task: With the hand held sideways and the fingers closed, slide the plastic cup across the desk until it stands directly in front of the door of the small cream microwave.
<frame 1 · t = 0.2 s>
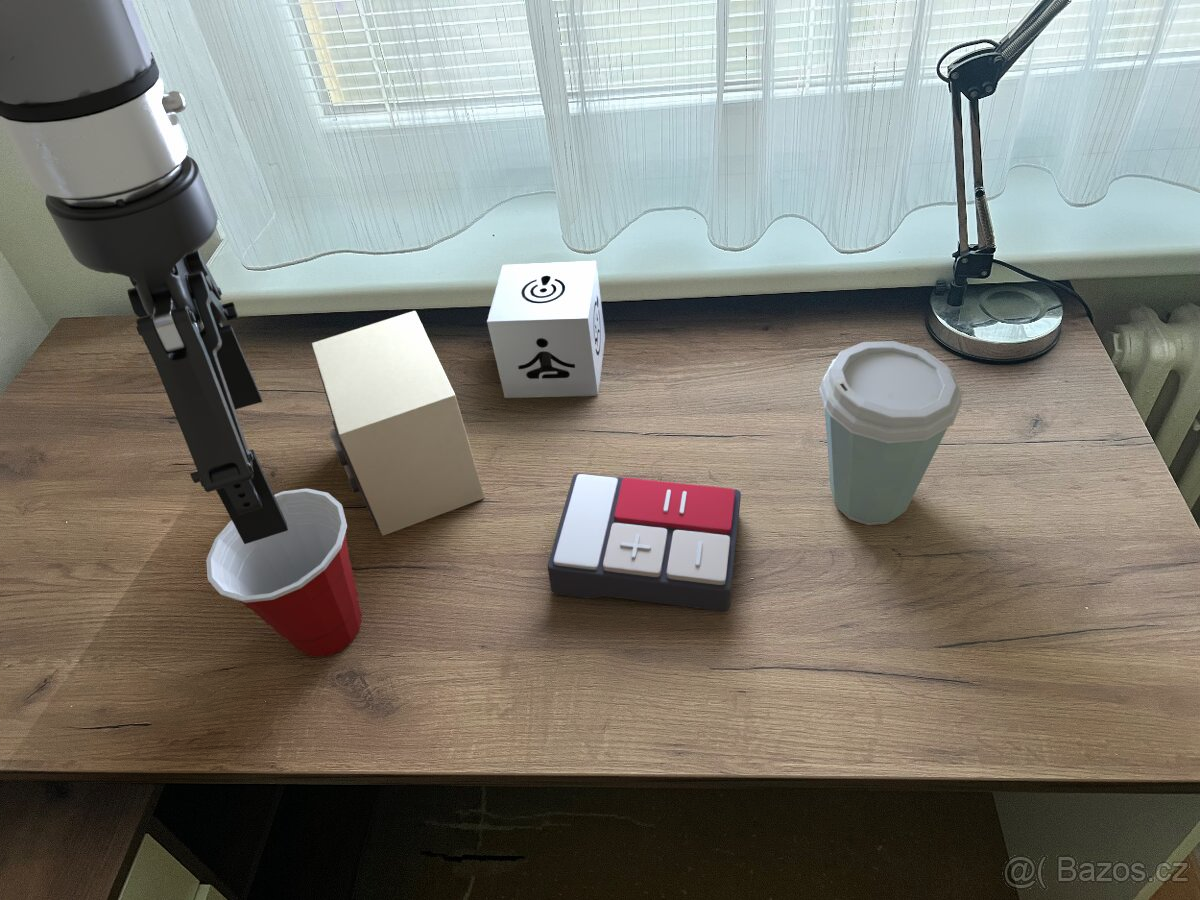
hand: (253, 464, 60), 20 cm above the table, tool pointing down, fingers open, 13 cm apart
disposable coffee cup: (870, 503, 78), on the table
icon cube: (556, 367, 96), on the table
plastic cup: (326, 629, 74), on the table
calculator: (648, 553, 76), on the table
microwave: (416, 469, 86), on the table
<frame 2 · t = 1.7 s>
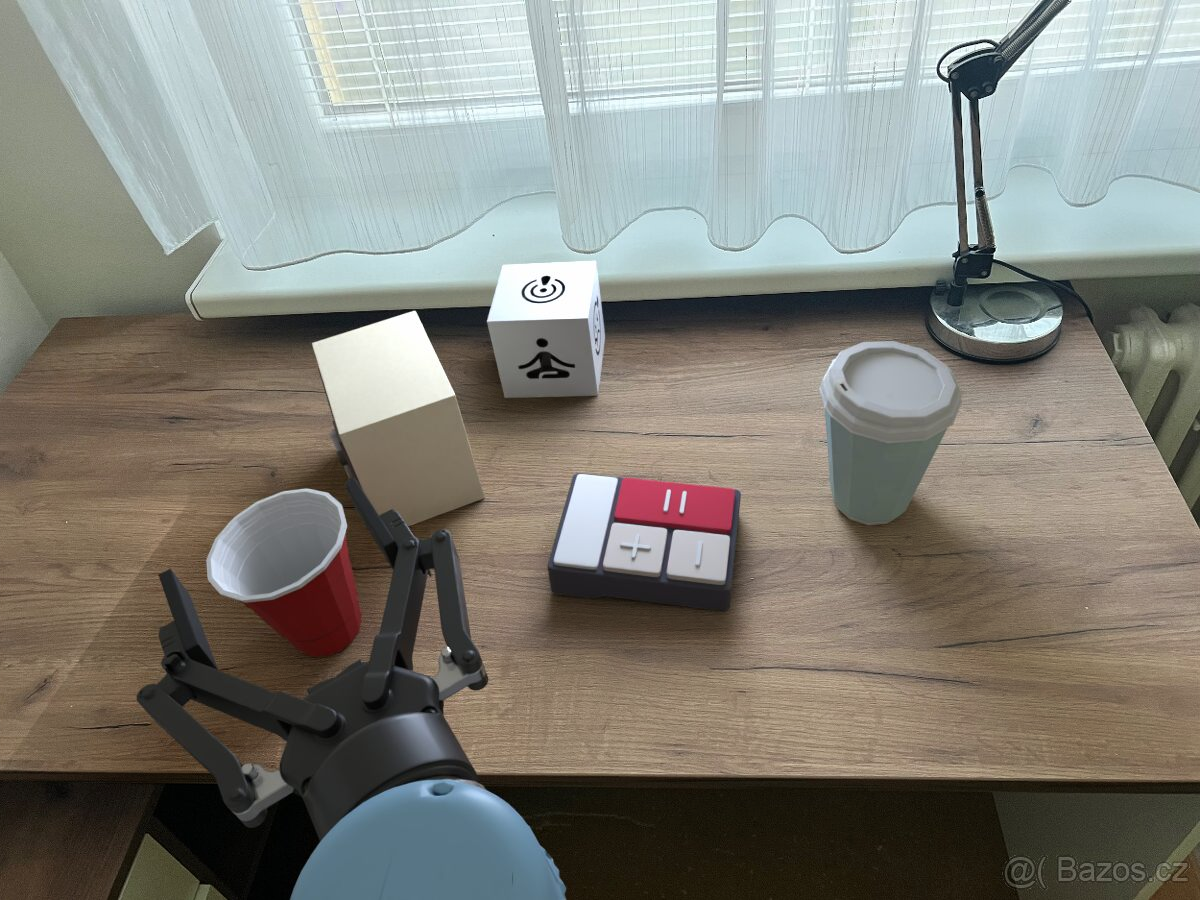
hand: (268, 538, 55), 20 cm above the table, tool horizontal, fingers open, 11 cm apart
nothing on the table moved.
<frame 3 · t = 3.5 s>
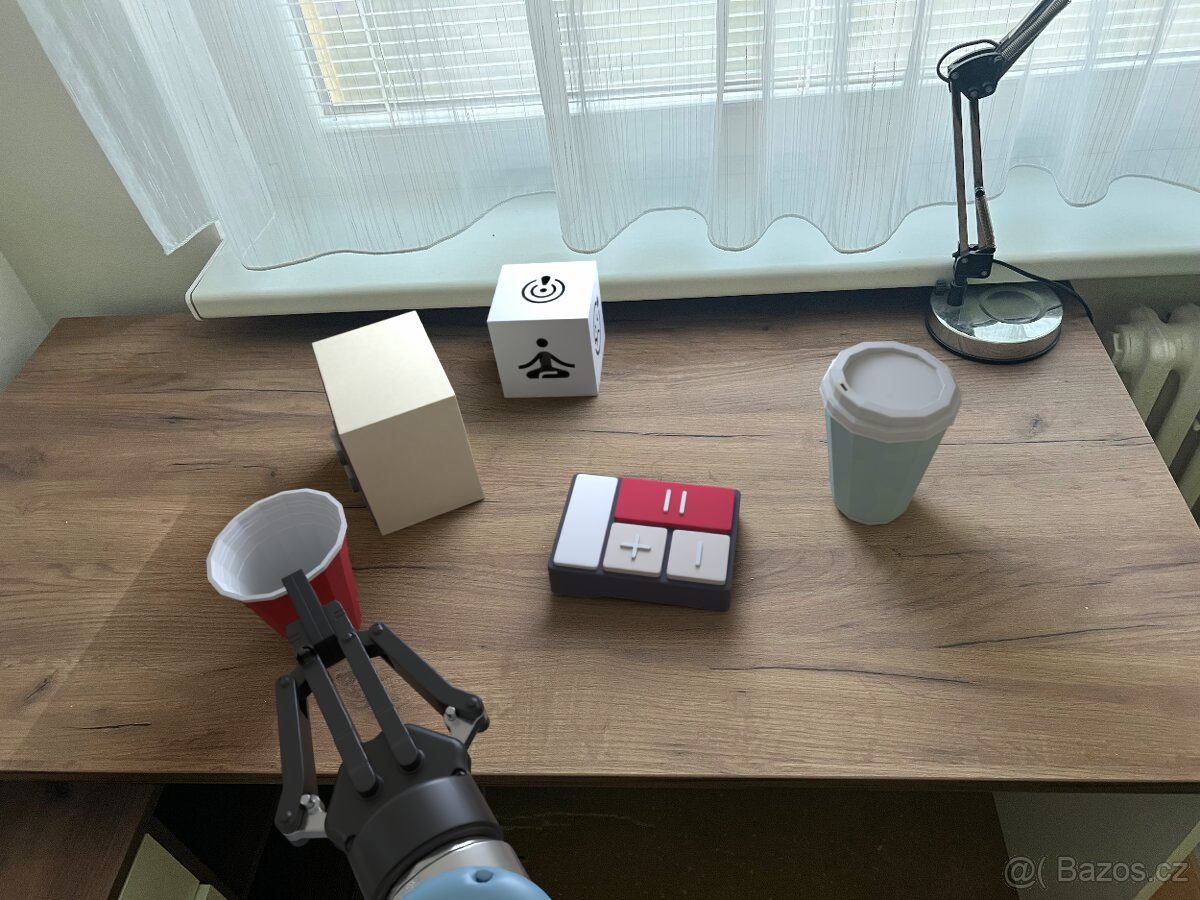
hand: (298, 585, 60), 13 cm above the table, tool horizontal, fingers closed
nothing on the table moved.
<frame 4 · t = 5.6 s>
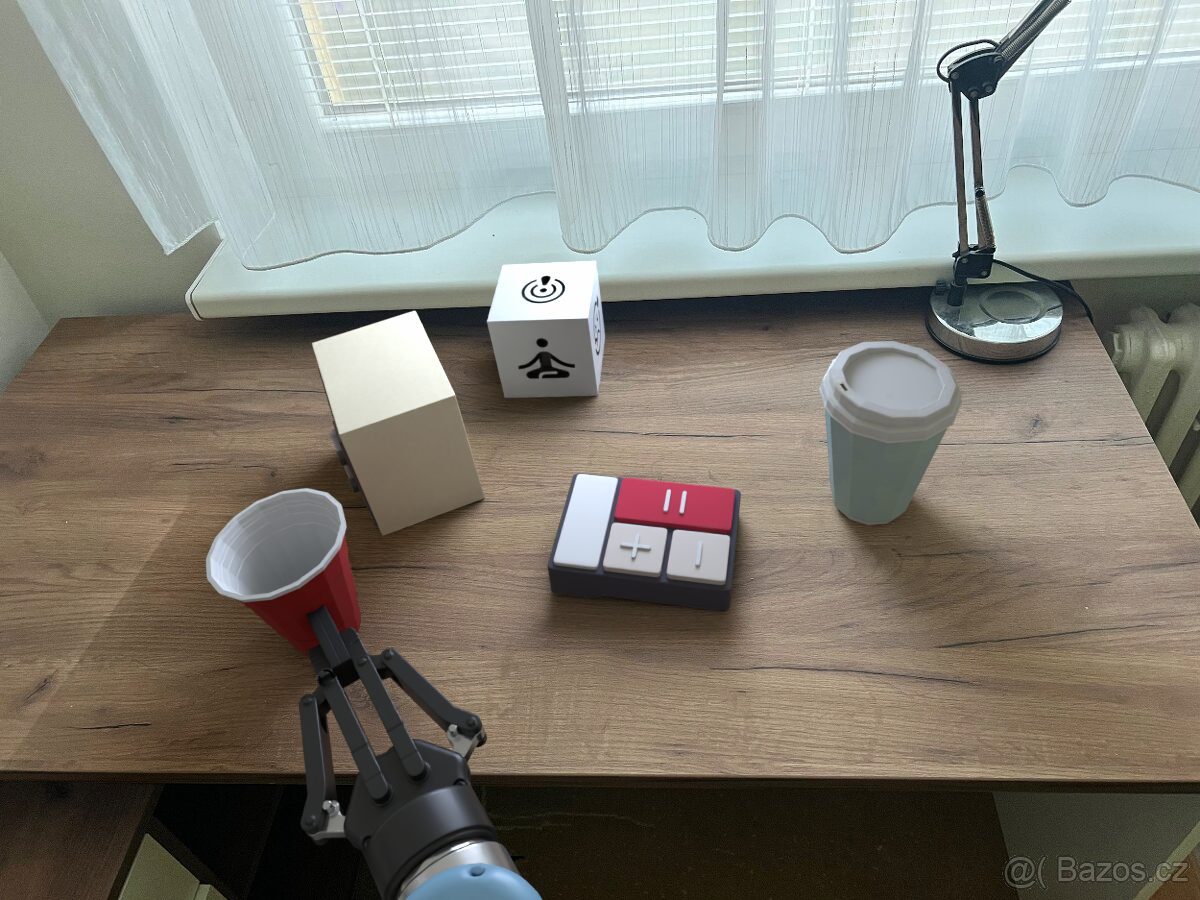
hand: (317, 613, 68), 6 cm above the table, tool horizontal, fingers closed
plastic cup: (325, 629, 74), on the table, touching gripper
everything else where it was.
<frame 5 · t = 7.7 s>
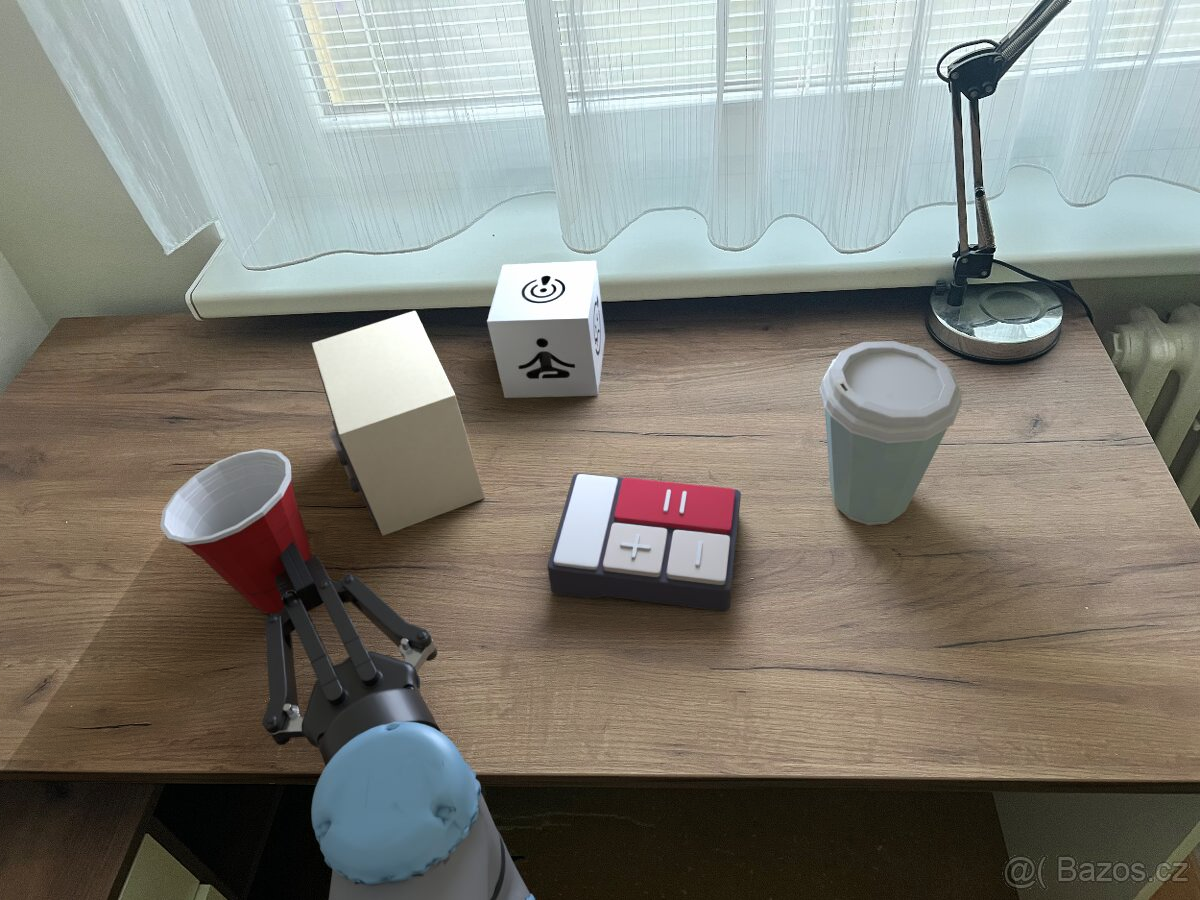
hand: (285, 545, 73), 6 cm above the table, tool horizontal, fingers closed
plastic cup: (284, 590, 77), on the table, touching gripper
everything else where it was.
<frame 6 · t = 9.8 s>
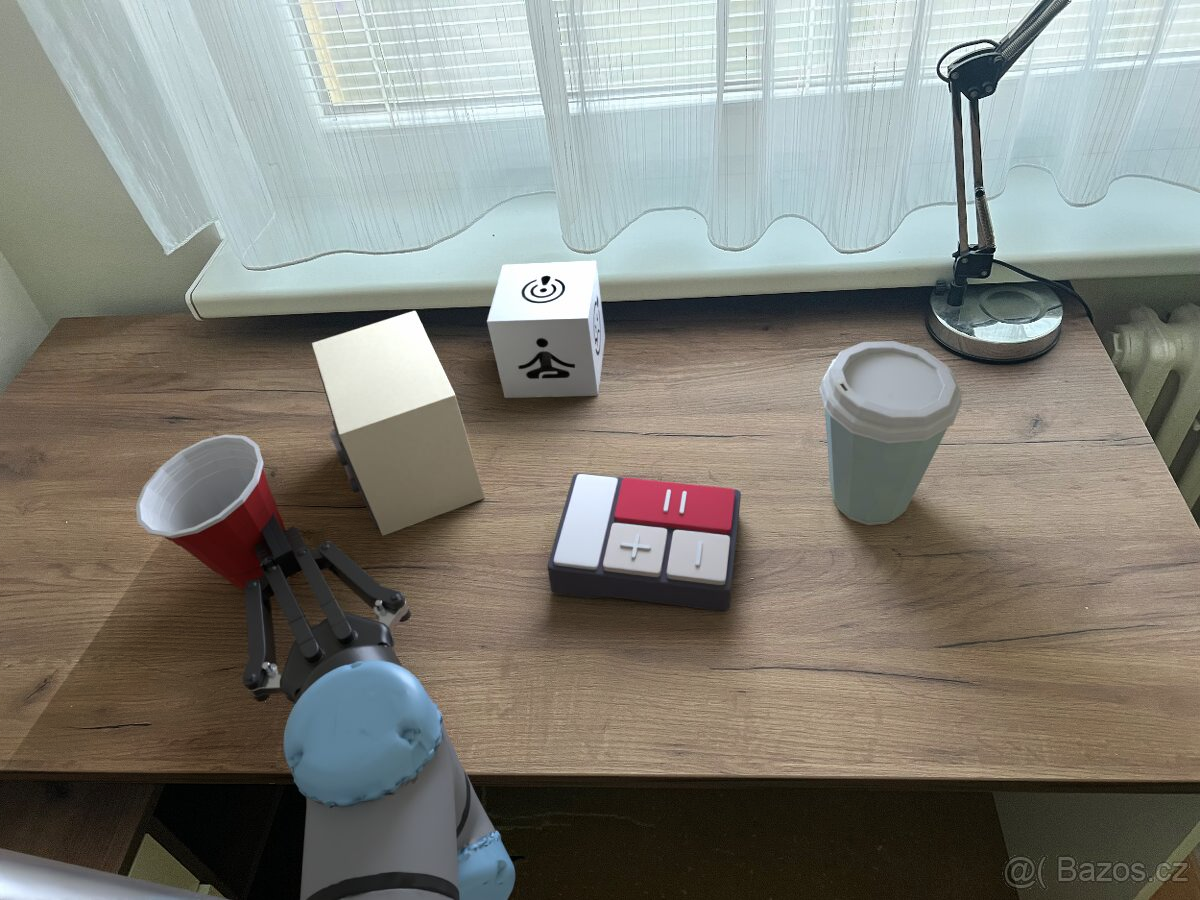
hand: (265, 517, 75), 6 cm above the table, tool horizontal, fingers closed
plastic cup: (262, 566, 79), on the table, touching gripper
everything else where it was.
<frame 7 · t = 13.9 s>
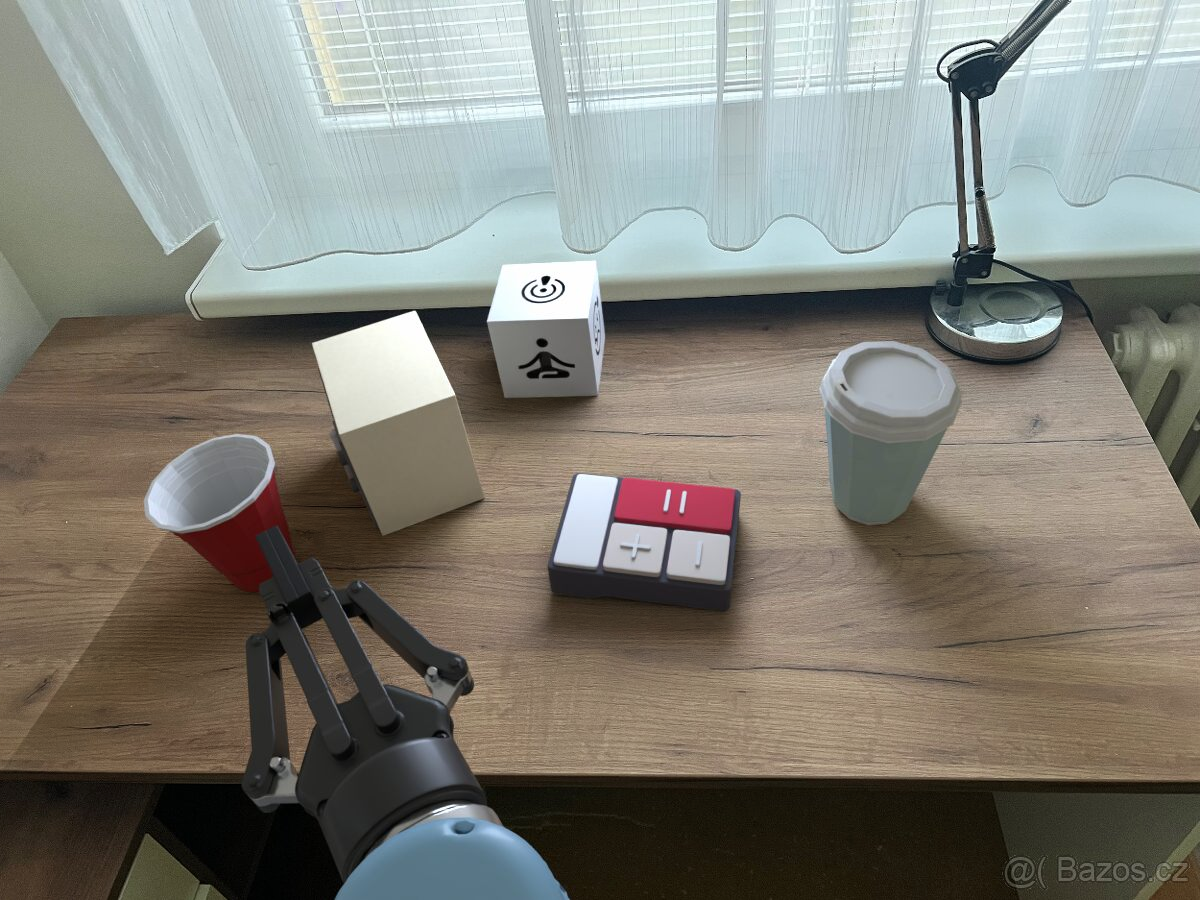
hand: (273, 543, 57), 18 cm above the table, tool horizontal, fingers closed
plastic cup: (262, 568, 80), on the table
everything else where it was.
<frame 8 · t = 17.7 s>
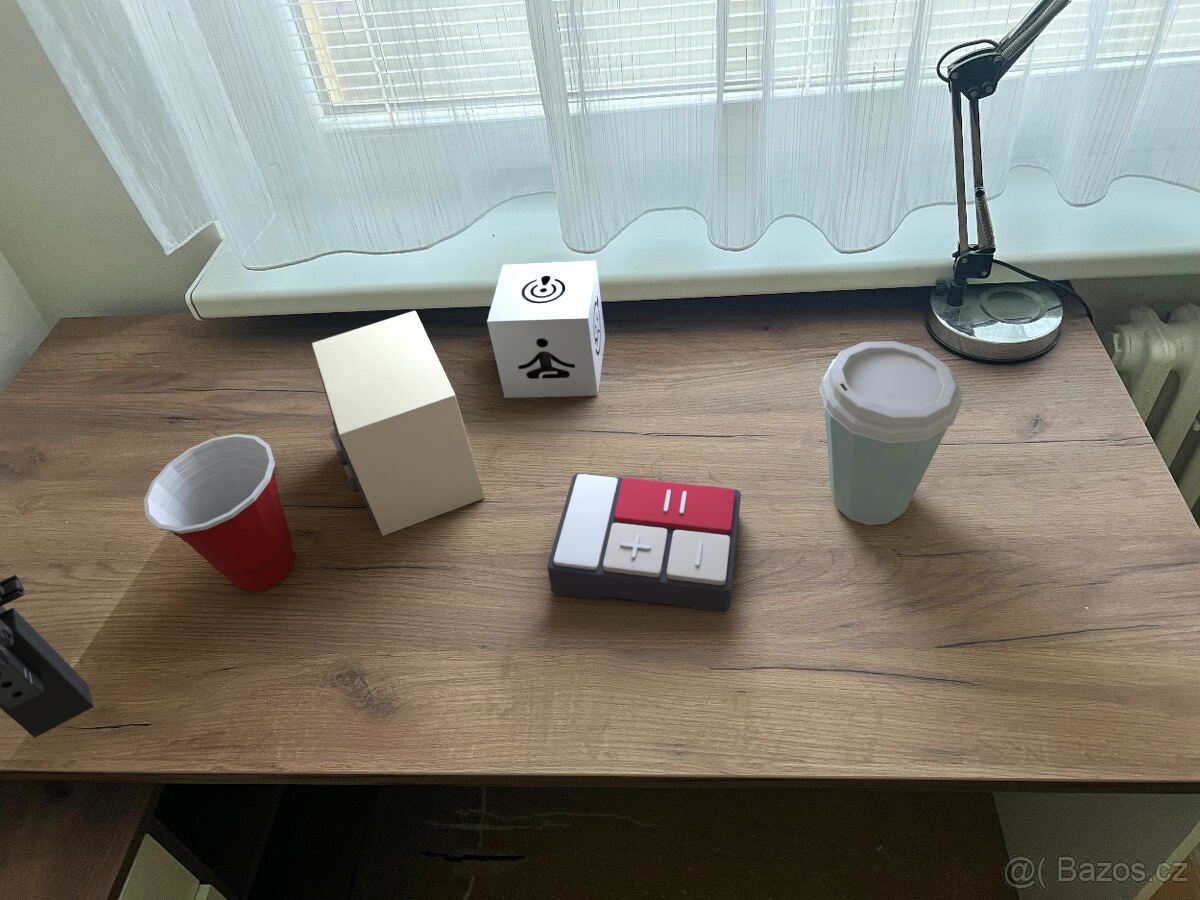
hand: (62, 710, 42), 24 cm above the table, tool pointing down, fingers closed
nothing on the table moved.
at the end: plastic cup inside the target area on the table beside the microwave (4.4 cm from its centre), on the table; plastic cup tilted 0°; the gripper is holding nothing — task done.
